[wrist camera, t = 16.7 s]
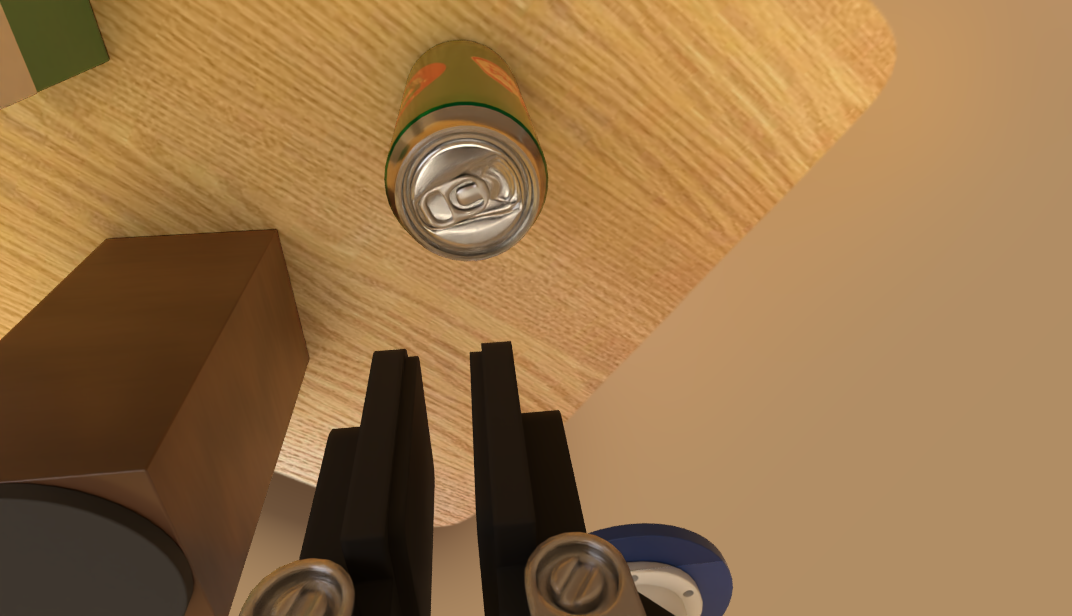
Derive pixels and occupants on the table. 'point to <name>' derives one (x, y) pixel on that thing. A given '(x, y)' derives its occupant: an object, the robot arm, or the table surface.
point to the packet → (45, 45)
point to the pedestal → (162, 390)
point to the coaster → (85, 557)
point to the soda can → (464, 155)
